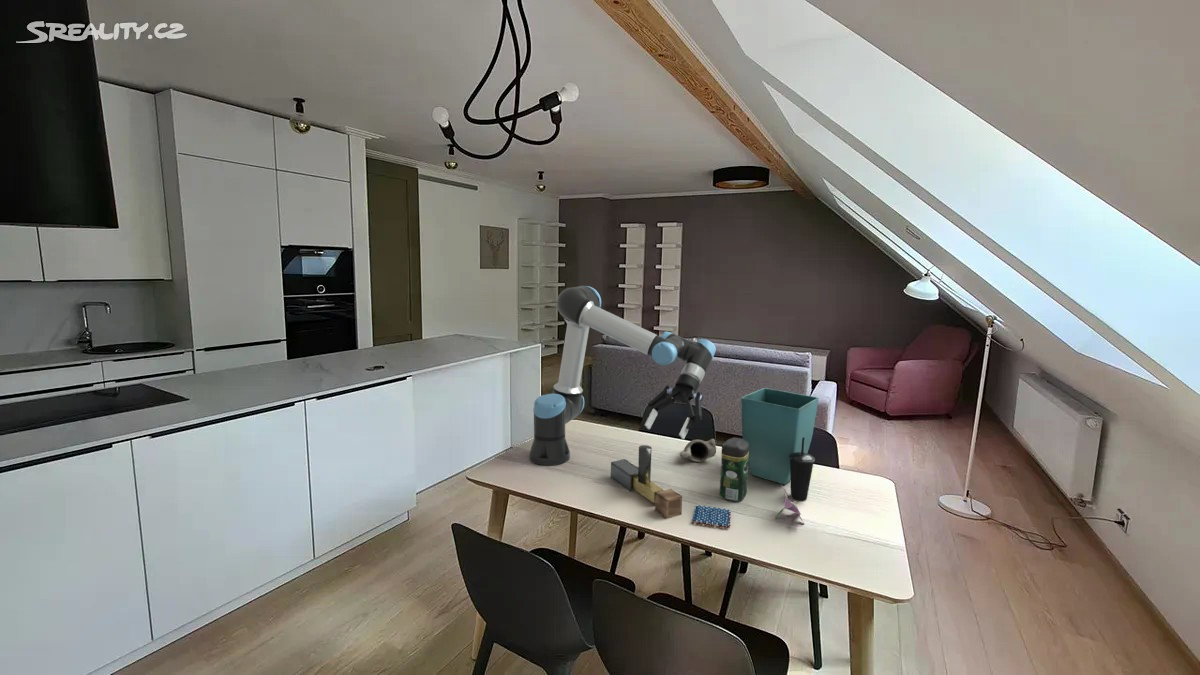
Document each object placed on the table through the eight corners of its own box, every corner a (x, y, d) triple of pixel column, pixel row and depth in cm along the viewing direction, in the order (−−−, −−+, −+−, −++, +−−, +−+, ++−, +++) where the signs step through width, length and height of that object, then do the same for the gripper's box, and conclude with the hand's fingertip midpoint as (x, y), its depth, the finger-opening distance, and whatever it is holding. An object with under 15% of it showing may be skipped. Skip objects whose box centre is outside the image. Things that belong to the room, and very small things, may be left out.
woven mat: (729, 532, 144) (730, 525, 143) (691, 526, 146) (692, 520, 146) (731, 514, 154) (731, 508, 153) (695, 509, 156) (695, 503, 156)
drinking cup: (810, 494, 167) (815, 435, 163) (812, 504, 159) (817, 443, 156) (785, 490, 169) (790, 432, 166) (786, 500, 162) (790, 440, 159)
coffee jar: (725, 487, 171) (728, 433, 168) (749, 493, 167) (752, 438, 164) (715, 498, 163) (718, 442, 160) (740, 505, 159) (744, 448, 156)
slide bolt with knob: (614, 475, 176) (614, 434, 174) (624, 472, 178) (624, 432, 176) (653, 503, 156) (655, 457, 154) (664, 500, 158) (665, 455, 156)
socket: (655, 510, 154) (655, 492, 153) (669, 506, 157) (670, 488, 156) (666, 518, 150) (667, 500, 149) (681, 514, 152) (682, 496, 151)
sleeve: (610, 477, 177) (610, 461, 176) (624, 474, 179) (624, 458, 178) (629, 491, 166) (630, 475, 165) (643, 488, 169) (644, 471, 168)
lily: (797, 537, 143) (815, 508, 142) (759, 511, 148) (776, 483, 147) (799, 530, 153) (817, 503, 153) (764, 506, 158) (780, 480, 158)
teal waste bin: (759, 458, 195) (764, 386, 191) (813, 473, 182) (819, 396, 178) (735, 475, 180) (740, 397, 176) (792, 492, 167) (798, 409, 163)
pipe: (687, 475, 199) (691, 470, 185) (673, 456, 202) (676, 449, 188) (720, 452, 201) (727, 444, 187) (706, 433, 204) (712, 424, 190)
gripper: (726, 391, 170) (701, 447, 162) (664, 379, 187) (638, 428, 178) (719, 379, 166) (692, 435, 157) (656, 367, 182) (629, 417, 173)
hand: (663, 432), depth 167 cm, fingers open, 13 cm apart
